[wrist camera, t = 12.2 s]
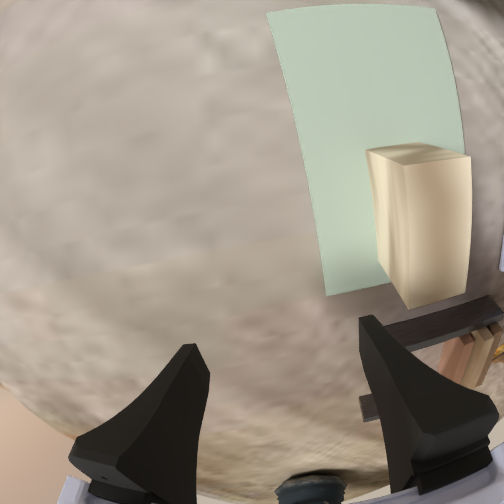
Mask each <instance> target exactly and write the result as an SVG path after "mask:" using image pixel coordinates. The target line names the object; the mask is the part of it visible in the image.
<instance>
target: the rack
mask: <svg viewBox="0 0 504 504" xmlns="http://www.w3.org/2000/svg"><path fill="white" fill-rule="evenodd" d="M503 315H504V312H503V311H502V310H501V309H500V308H499V306H498V305H497V304H496V303H495V302H494V301H493V300H492V298H491V297H490V296H489V295H488V296H485V297H482V298H479V299H476V300H474V301H471V302H468V303H465V304H461V305H458V306H455V307H452V308H449V309H446V310H442V311H439V312H436V313H432V314H429V315H425V316H422V317H418V318H414V319H411V320H407V321H403V322H399V323H395V324H391V325H387V326H384V327H385V328H386V330H387V331H388V332H389V333H390V334H391V335H392V336H393V337H394V338H395V339H396V340H397V341H398V342H400V343H401V344H402V345H403V346H404V347H405V348H406V349H407V350H408V351H409V352H412V351H416V350H419V349H422V348H426V347H429V346H432V345H435V344H438V343H441V342H444V341H447V340H450V339H453V338H456V337H459V336H462V335H465V334H467V333H470V332H473V331H475V330H478V329H481V328H483V327H486V326H488V325H491V324H493V323H496V322H498V321H500V320H502V318H503ZM359 403H360V408H361V412H362V417H363V422H368V421H372V420H376V419H380V417H379V413H378V410H377V407H376V404H375V401H374V398H373V395H372V394H369V395H365V396H361V397H359Z"/></svg>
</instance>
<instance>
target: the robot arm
mask: <svg viewBox="0 0 504 504" xmlns="http://www.w3.org/2000/svg"><path fill="white" fill-rule="evenodd" d="M499 270H500V271H502V272H504V236H503V244H502V252H501V258H500V264H499ZM359 352H360V356H361V360H362V365H363V369H364V372H365V375H366V378H367V381H368V384H369V387H370V389H371V392H372V395H373V398H374V401H375V404H376V407H377V410H378V413H379V417H380V421H381V426H382V431H383V436H384V442H385V448H386V454H387V461H388V469H389V478H390V488H391V494H390V495H386V496H382V497H378V498H374V499H370V500H366V501H360V502H356V503H350V504H504V442H503V443H501V444H500V445H498V446H496V447H495V448H494V449H492V450H491V451H490V450H489V448H488V445H489V444H490V440H489V438H488V434H489V433H490V432H491V430H492V429H493V427H494V426H495V425H496V423H497V421H498V419H499V413H498V411H497V409H496V406H495V405H494V403H493V401H492V400H491V399H490V397H489V395H486V394H483V393H480V392H477V391H474V390H471V389H469V388H466V387H464V386H462V385H460V384H458V383H455V382H454V381H452V380H450V379H448V378H446V377H445V376H443V375H441V374H439V373H438V372H436V371H435V370H433V369H431V368H430V367H429V366H427V365H426V364H424V363H423V362H422V361H420V360H419V359H418V358H417V357H415V356H414V355H413V354H412V353H411V352H409V351H408V350H407V349H406V348H405V347H404V346H403V345H402V344H401V343H400V342H398V341H397V340H396V339H395V338H394V337H393V336H392V335H391V334H390V333H389V332H388V331H387V330H386V328H385V327H384V326H383V325H382V324H381V323H380V322H379V321H378V320H377V318H376V317H375V316H374V315H368V316H364V317H359ZM209 382H210V372H209V370H208V368H207V366H206V364H205V362H204V360H203V358H202V356H201V354H200V352H199V349H198V347H197V345H196V343H194V344H183V346H182V347H181V348H180V349H179V350H178V352H177V353H176V354H175V355H174V357H173V358H172V359H171V360H170V362H169V363H168V364H167V365H166V366H165V368H164V369H163V370H162V371H161V373H160V374H159V375H158V376H157V377H156V378H155V379H154V381H153V382H152V383H151V384H150V385H149V386H148V387H147V388H146V389H145V390H144V391H143V392H142V393H141V394H140V395H139V396H138V397H137V398H136V399H135V400H134V401H133V402H132V403H131V404H129V405H128V406H127V407H126V408H125V409H123V410H122V411H121V412H119V413H118V414H117V415H115V416H114V417H113V418H111V419H110V420H108V421H107V422H105V423H103V424H102V425H100V426H98V427H97V428H95V429H93V430H91V431H89V432H87V433H85V434H83V435H81V436H78V437H77V438H76V440H75V443H74V445H73V447H72V450H71V452H70V454H69V456H68V458H69V461H70V462H71V463H72V464H73V465H74V466H75V467H76V468H78V469H79V470H80V471H81V472H83V473H84V474H86V475H87V476H88V477H90V478H91V479H92V481H91V483H88V482H86V481H83V480H80V479H77V478H75V477H72V476H67V479H66V481H65V484H64V487H63V489H62V491H61V494H60V497H59V499H58V502H57V504H197V498H196V468H197V452H198V441H199V434H200V429H201V425H202V420H203V416H204V411H205V407H206V402H207V398H208V393H209Z"/></svg>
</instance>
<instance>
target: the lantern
mask: <svg viewBox="0 0 504 504" xmlns="http://www.w3.org/2000/svg"><path fill="white" fill-rule="evenodd" d="M346 486H347V484H346V483H345V482H344V481H342V480H341V479H340V478H339V477H337V476H334V475H308V476H303V477H298V478H293V479H289V480H287V481H285V482H284V483H283V484H282V485H280V486H279V487H278V488H277V489H276V490H275V493H276V495H277V496H279V497H278V498H277V500H279V504H341V502H342V501H344V494H345V492H344V490H345V488H346Z"/></svg>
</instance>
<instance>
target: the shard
mask: <svg viewBox="0 0 504 504" xmlns="http://www.w3.org/2000/svg"><path fill="white" fill-rule="evenodd" d="M498 362H501V363H504V344H502V345H501V346H500V347H499V348H497V349H496V352H495V354H494V357H493V359H492V363H498Z"/></svg>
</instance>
